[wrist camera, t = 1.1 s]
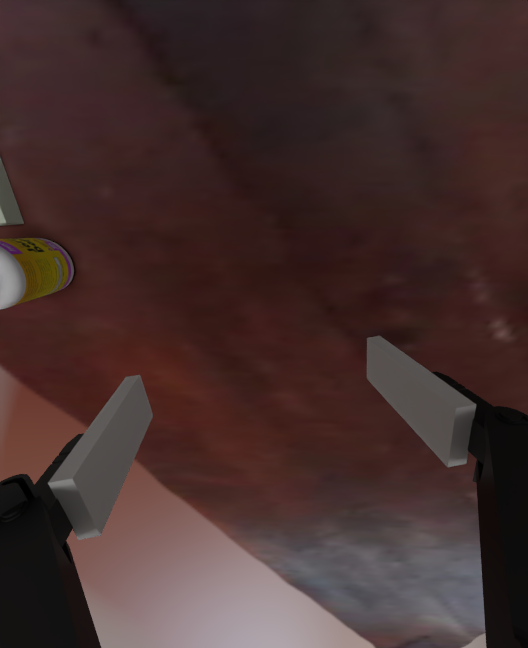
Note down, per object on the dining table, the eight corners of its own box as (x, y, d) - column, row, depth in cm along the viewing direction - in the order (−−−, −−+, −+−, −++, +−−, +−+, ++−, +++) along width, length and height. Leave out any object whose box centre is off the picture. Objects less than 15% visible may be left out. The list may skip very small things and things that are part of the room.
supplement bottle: (76, 243, 33) (-13, 250, 21) (76, 294, 35) (-5, 327, 23) (15, 232, 32) (-114, 232, 20) (20, 285, 34) (-96, 315, 22)
